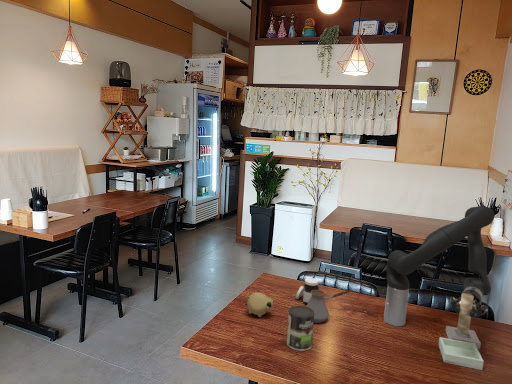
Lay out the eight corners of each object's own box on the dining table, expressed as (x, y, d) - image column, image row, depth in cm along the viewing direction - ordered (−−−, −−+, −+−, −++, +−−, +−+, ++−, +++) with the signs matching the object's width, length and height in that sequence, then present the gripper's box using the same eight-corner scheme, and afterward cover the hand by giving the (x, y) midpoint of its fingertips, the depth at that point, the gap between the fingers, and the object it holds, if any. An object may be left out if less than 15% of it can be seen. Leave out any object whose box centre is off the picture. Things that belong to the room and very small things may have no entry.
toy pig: (270, 321, 170) (271, 299, 169) (244, 317, 173) (245, 295, 171) (274, 311, 180) (275, 290, 178) (249, 308, 182) (250, 287, 181)
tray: (444, 362, 145) (445, 354, 144) (438, 344, 157) (439, 337, 156) (482, 369, 141) (483, 361, 140) (473, 351, 153) (474, 343, 153)
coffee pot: (304, 324, 169) (306, 292, 167) (302, 312, 181) (304, 282, 178) (352, 327, 168) (355, 295, 166) (347, 315, 180) (350, 285, 177)
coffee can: (317, 347, 151) (319, 314, 149) (295, 353, 146) (297, 319, 144) (302, 335, 160) (304, 303, 158) (281, 340, 155) (283, 307, 153)
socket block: (450, 343, 158) (451, 338, 158) (445, 331, 169) (446, 325, 168) (479, 349, 155) (480, 343, 155) (473, 335, 166) (474, 330, 165)
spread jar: (319, 307, 187) (321, 284, 185) (296, 306, 187) (297, 283, 185) (315, 296, 199) (317, 275, 197) (294, 295, 199) (295, 274, 197)
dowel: (458, 333, 146) (462, 296, 144) (456, 328, 150) (460, 292, 147) (469, 335, 145) (474, 298, 143) (467, 330, 149) (472, 294, 146)
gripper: (453, 284, 161) (445, 298, 147) (492, 294, 153) (487, 309, 139) (451, 301, 162) (442, 316, 148) (490, 311, 154) (484, 328, 140)
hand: (464, 312), depth 144 cm, fingers closed on dowel, 4 cm apart
